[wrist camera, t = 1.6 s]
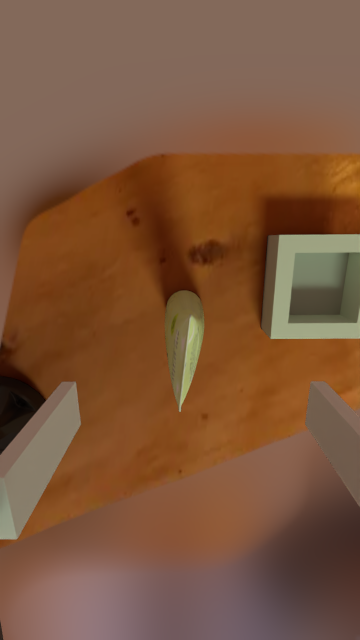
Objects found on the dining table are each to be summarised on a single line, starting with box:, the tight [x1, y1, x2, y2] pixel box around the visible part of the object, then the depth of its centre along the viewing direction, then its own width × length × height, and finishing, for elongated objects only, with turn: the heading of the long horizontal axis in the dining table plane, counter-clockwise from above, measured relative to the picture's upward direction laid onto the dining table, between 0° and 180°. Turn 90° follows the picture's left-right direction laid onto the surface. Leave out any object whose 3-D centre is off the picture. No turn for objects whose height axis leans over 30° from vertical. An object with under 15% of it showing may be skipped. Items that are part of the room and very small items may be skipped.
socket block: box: [261, 234, 360, 339], centre depth 36 cm, size 12×12×4 cm
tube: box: [165, 290, 204, 412], centre depth 30 cm, size 6×5×20 cm
